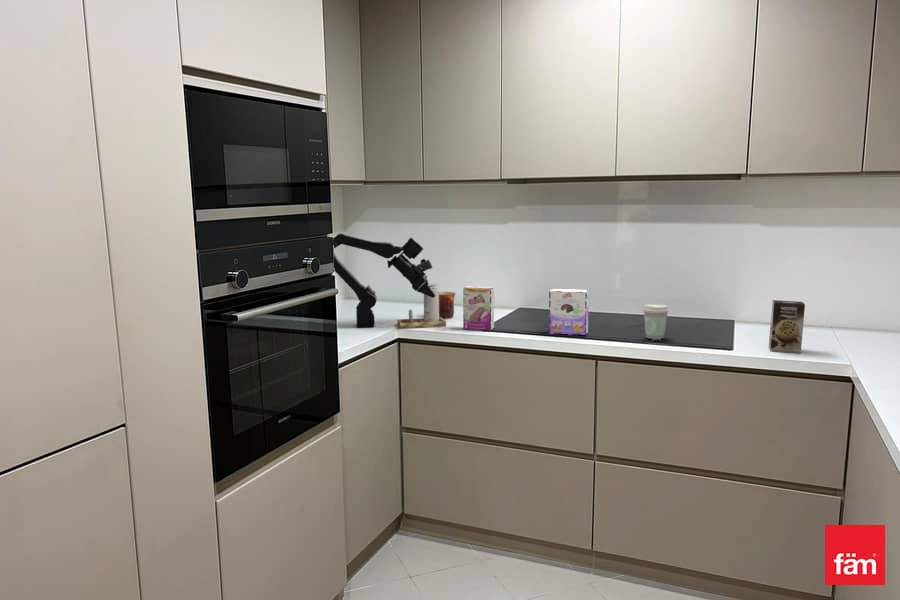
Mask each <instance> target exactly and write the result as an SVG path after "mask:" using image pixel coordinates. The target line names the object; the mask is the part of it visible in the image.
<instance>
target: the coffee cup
mask: <svg viewBox="0 0 900 600" xmlns="http://www.w3.org/2000/svg"><path fill="white" fill-rule="evenodd" d="M642 311H643V313H644V314H643V317H644V328H645V329H644V330H645V331H644V332H645V338H646V337H647V338H653V339H661V338H663V339H664V336H665V330H666V324H667V319H668V313H669V308H668V305H666V304H661V303H647V304H645V305H644V308H643V310H642Z"/></svg>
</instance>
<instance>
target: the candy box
mask: <svg viewBox="0 0 900 600" xmlns="http://www.w3.org/2000/svg"><path fill="white" fill-rule="evenodd" d="M589 291H590V290H589V289H577V288H576V289H574V288H572V289H570V288H568V289H567V288H551V289H550V290H549V291H548V300H549V301H548V334H549V333H550V334H549V335H559V334H568V335H567V336H579V335H586V334H587V333H588V334H589V296H590V295H589ZM588 334H587V335H588ZM587 335H586V336H587Z"/></svg>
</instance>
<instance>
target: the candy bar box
mask: <svg viewBox="0 0 900 600" xmlns="http://www.w3.org/2000/svg"><path fill="white" fill-rule="evenodd" d="M462 298H463V299H462V300H463V308H462V311H463V314H462V317H463V320H462V321H463V324H462V325H463V328H462V329H463V330H466V331H467V330H469V331H470V330H471V331H483V332H484V331H485V332H491V330H492V329H493V328H494V329H495V287H493V286H477V285H475V286H474V285H466V286H464V287H463V297H462ZM494 329H493V330H494ZM493 330H492V331H493Z"/></svg>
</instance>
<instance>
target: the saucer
mask: <svg viewBox="0 0 900 600" xmlns="http://www.w3.org/2000/svg"><path fill="white" fill-rule="evenodd" d="M408 319H409V323H412V321H413V319H414V317H413V310H412V309H411V308H410V309H408Z"/></svg>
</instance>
